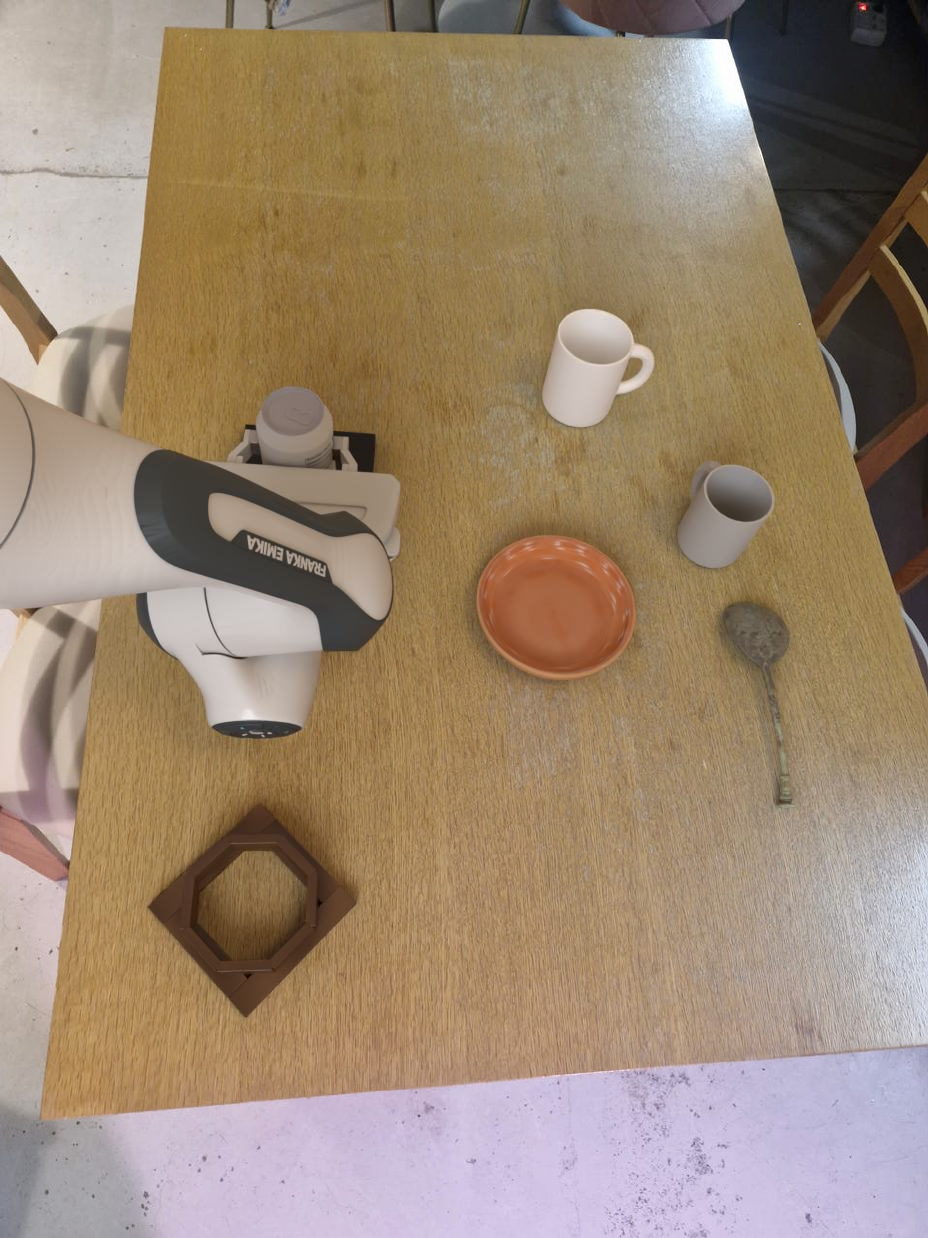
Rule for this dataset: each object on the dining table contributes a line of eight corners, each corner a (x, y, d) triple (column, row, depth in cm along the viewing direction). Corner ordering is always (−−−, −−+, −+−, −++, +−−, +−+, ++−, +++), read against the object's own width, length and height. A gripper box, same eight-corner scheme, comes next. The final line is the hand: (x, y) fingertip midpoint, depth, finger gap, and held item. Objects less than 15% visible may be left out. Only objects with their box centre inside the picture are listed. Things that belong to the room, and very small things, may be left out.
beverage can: (287, 453, 88) (275, 370, 78) (347, 476, 88) (344, 395, 77) (255, 503, 85) (239, 423, 75) (318, 527, 85) (311, 450, 74)
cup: (690, 576, 90) (721, 530, 82) (655, 500, 94) (681, 449, 86) (751, 563, 92) (786, 516, 84) (713, 488, 96) (744, 437, 88)
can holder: (246, 1018, 67) (241, 1016, 64) (149, 908, 70) (140, 902, 67) (356, 903, 72) (356, 897, 69) (261, 805, 75) (257, 796, 72)
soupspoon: (775, 607, 90) (714, 606, 90) (787, 591, 87) (724, 589, 87) (816, 812, 79) (747, 810, 79) (832, 801, 76) (760, 799, 76)
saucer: (444, 586, 87) (446, 571, 84) (572, 526, 91) (578, 510, 89) (528, 716, 81) (533, 705, 78) (659, 645, 86) (668, 632, 83)
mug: (633, 374, 102) (658, 308, 93) (646, 428, 99) (675, 365, 90) (535, 375, 101) (552, 308, 92) (546, 431, 97) (564, 366, 88)
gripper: (400, 550, 72) (408, 423, 79) (154, 534, 71) (182, 405, 77) (398, 586, 78) (405, 465, 84) (170, 572, 76) (195, 450, 83)
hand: (297, 436), depth 81 cm, fingers closed on beverage can, 7 cm apart
